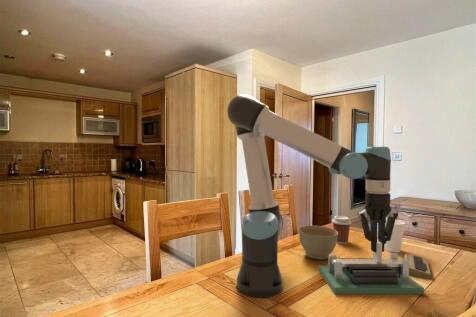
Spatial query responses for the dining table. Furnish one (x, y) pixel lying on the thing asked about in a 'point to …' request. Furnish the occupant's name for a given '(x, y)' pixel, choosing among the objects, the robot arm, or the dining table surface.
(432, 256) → the dining table surface
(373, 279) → the heat sink mount
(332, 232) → the planter bowl
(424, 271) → the computer
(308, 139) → the robot arm
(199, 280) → the dining table surface
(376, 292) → the circuit board
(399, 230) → the foam cup
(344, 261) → the steel strap
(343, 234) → the coffee cup
